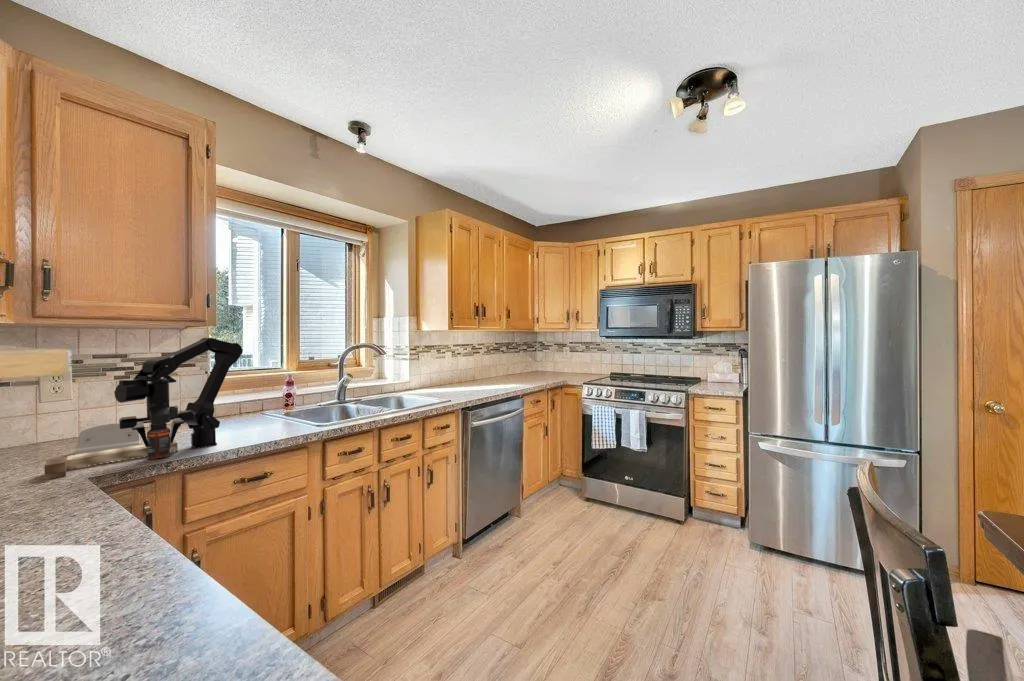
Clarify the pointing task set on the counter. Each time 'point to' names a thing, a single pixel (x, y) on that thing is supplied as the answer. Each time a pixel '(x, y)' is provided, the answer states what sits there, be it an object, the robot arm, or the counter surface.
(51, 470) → the walnut block
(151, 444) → the supplement bottle
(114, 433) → the grey curved bracket
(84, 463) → the maple board
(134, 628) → the counter surface
